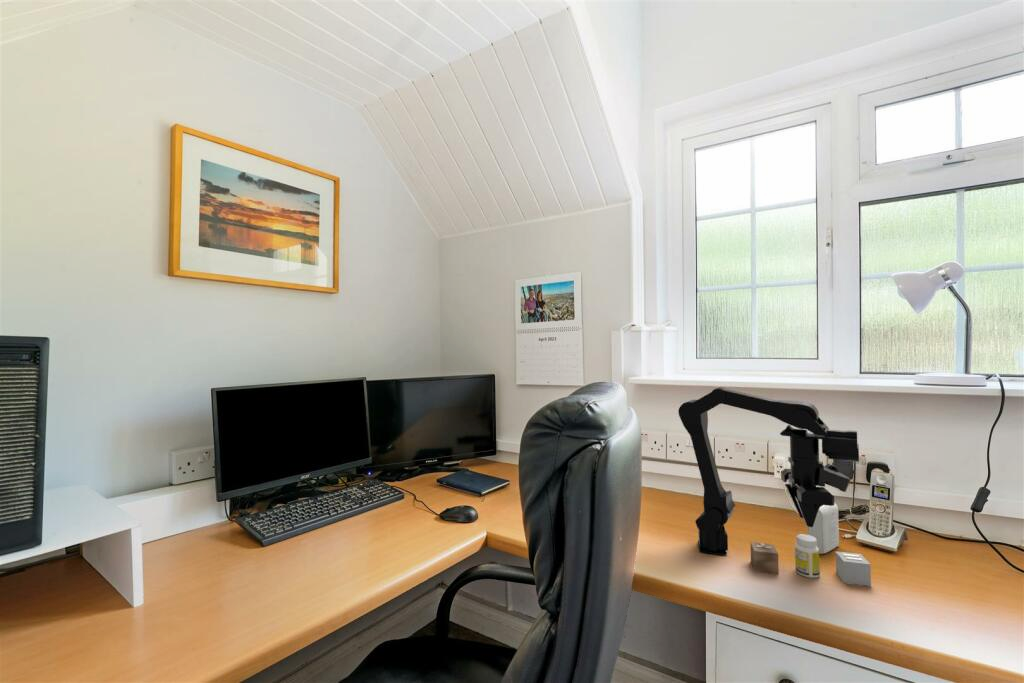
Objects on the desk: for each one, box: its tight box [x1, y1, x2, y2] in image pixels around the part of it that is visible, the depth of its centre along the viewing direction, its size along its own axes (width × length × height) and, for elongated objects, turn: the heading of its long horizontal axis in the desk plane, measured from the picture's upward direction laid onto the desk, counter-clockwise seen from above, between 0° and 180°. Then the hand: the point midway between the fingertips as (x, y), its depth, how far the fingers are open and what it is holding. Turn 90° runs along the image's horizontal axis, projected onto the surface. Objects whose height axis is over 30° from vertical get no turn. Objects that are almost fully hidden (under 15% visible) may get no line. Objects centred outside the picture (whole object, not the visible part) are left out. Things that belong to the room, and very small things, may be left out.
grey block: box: [835, 551, 872, 587], centre depth 102 cm, size 5×5×5 cm
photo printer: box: [807, 502, 840, 555], centre depth 117 cm, size 10×4×12 cm, turn 123°
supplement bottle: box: [794, 533, 821, 579], centre depth 105 cm, size 5×5×8 cm
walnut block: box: [749, 541, 780, 575], centre depth 108 cm, size 5×5×5 cm
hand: (806, 522), depth 105 cm, fingers open, 5 cm apart
